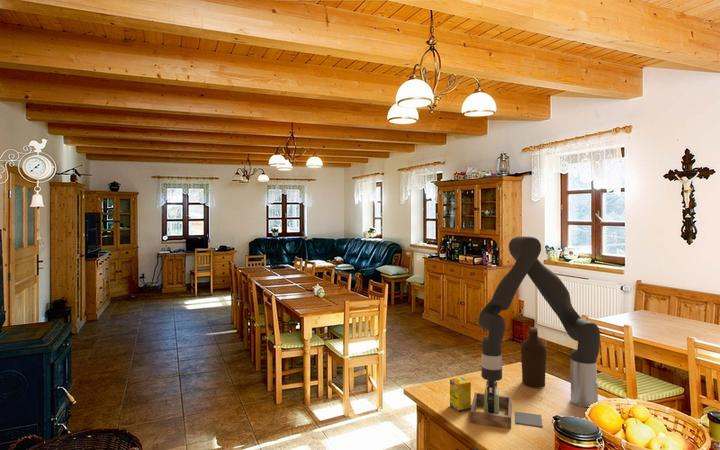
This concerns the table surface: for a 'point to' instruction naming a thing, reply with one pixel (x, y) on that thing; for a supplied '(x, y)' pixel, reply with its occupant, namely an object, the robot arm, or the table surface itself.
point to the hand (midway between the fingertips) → (491, 407)
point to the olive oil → (533, 360)
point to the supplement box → (460, 394)
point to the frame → (488, 417)
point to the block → (496, 405)
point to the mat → (528, 419)
